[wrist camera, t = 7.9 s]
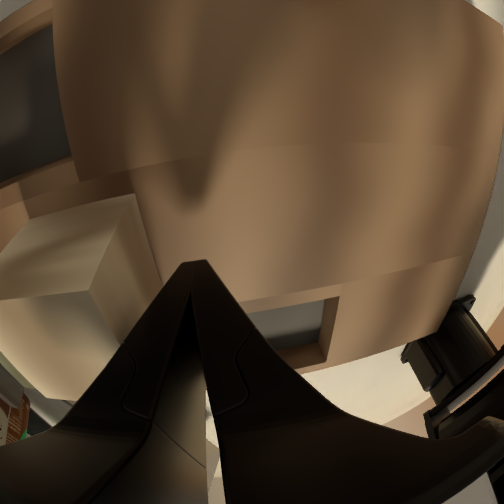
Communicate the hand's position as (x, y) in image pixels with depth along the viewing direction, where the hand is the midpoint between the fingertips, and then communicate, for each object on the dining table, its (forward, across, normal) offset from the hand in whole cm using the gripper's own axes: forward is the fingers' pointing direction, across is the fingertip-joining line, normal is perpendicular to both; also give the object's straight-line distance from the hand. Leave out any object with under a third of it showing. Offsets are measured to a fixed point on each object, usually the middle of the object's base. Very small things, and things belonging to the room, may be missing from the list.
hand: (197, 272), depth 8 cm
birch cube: (+2, +4, 0) cm, 4 cm away
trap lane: (+4, +2, 0) cm, 4 cm away
